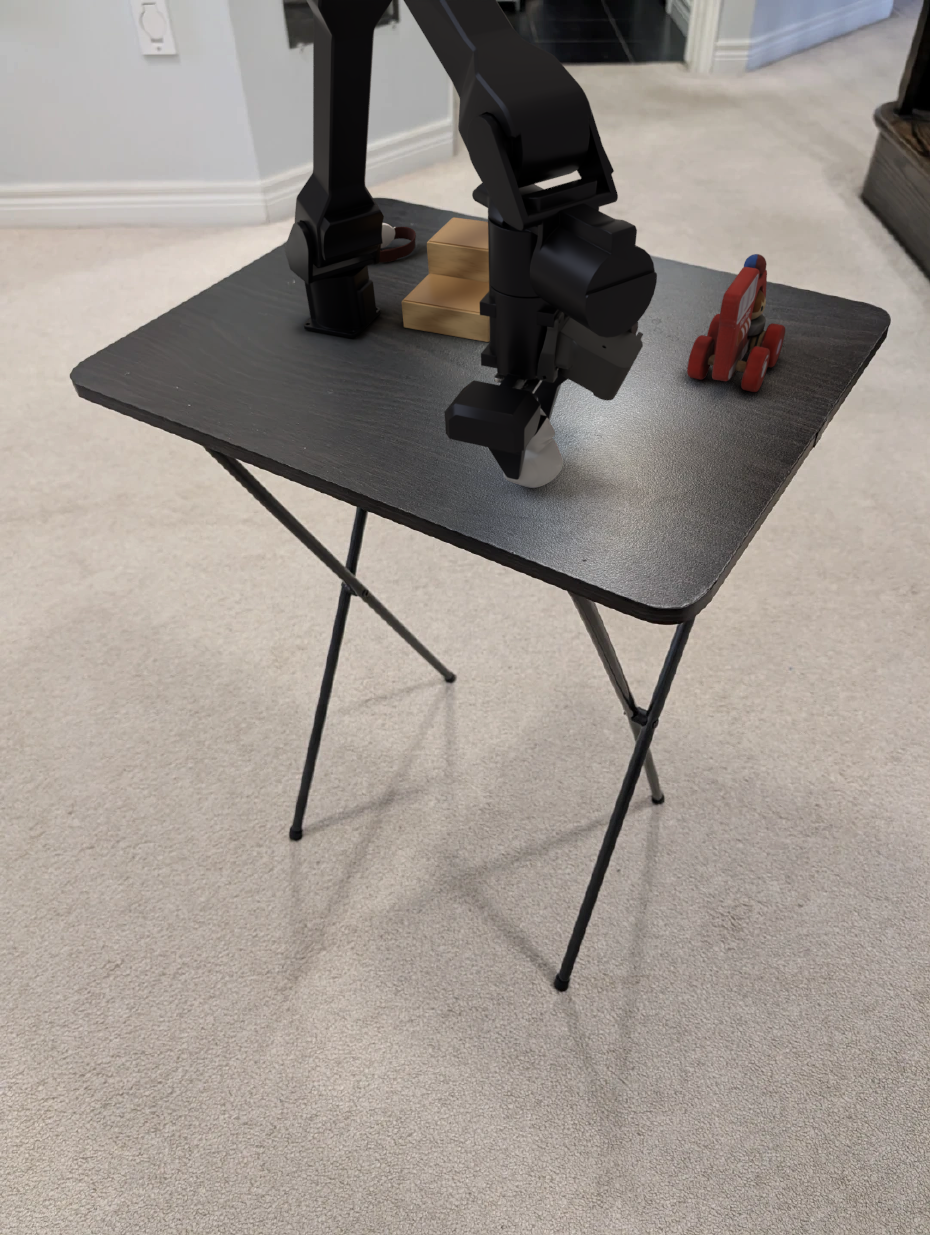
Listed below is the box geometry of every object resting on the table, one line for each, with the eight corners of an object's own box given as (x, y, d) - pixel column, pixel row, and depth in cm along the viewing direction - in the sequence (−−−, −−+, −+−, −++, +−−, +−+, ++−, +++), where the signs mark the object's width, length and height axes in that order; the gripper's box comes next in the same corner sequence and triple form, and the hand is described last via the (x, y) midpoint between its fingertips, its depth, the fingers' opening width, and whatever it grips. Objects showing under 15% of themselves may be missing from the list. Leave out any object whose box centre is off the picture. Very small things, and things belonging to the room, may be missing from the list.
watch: (408, 241, 112) (406, 212, 110) (423, 255, 109) (421, 225, 107) (351, 255, 110) (347, 225, 108) (365, 269, 107) (361, 239, 105)
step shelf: (403, 327, 97) (397, 267, 92) (455, 273, 106) (452, 216, 101) (488, 342, 94) (487, 281, 89) (534, 285, 103) (535, 227, 98)
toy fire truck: (785, 348, 91) (810, 246, 83) (749, 408, 83) (772, 302, 76) (719, 334, 93) (737, 234, 86) (678, 391, 86) (693, 287, 78)
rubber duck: (545, 506, 74) (547, 424, 68) (476, 483, 76) (474, 402, 71) (573, 471, 77) (578, 390, 71) (507, 451, 80) (506, 371, 74)
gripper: (596, 362, 56) (582, 549, 67) (670, 243, 68) (647, 419, 79) (436, 333, 59) (447, 515, 70) (532, 224, 71) (529, 395, 82)
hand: (525, 458), depth 75 cm, fingers closed on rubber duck, 5 cm apart
